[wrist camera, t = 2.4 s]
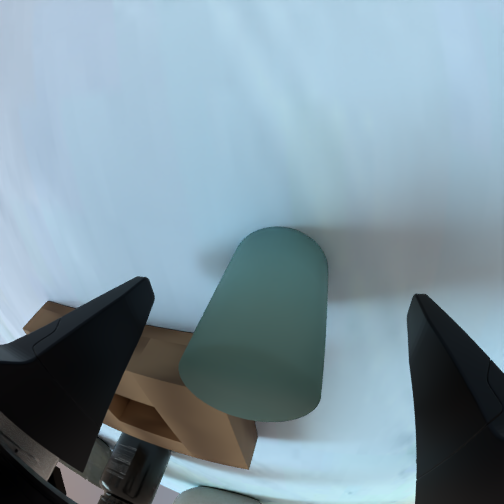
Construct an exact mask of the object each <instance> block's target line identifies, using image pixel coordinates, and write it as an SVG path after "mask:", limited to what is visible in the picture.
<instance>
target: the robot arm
mask: <svg viewBox="0 0 504 504" xmlns="http://www.w3.org/2000/svg"><path fill="white" fill-rule="evenodd" d="M154 299H155V296H154V292H153V290H152V287H151V284H150V281H149V279H148V278H147V277H140V276H138V277H135V278H133V279H131V280H129V281H127V282H126V283H124V284H122V285H120V286H118V287H116V288H114V289H112V290H110V291H108V292H106V293H105V294H103V295H101V296H99V297H97V298H95V299H93V300H91V301H90V302H88V303H86V304H84V305H82V306H80V307H78V308H77V309H75V310H73V311H71V312H69V313H67V314H66V315H64V316H62V317H60V318H58V319H56V320H55V321H53V322H51V323H49V324H47V325H45V326H43V327H41V328H39V329H37V330H35V331H33V332H31V333H29V334H27V335H25V336H23V337H21V338H19V339H17V340H15V341H13V342H10V343H8V344H3V345H0V504H77V503H76V502H74V501H73V500H72V499H70V498H68V497H67V496H66V490H65V487H64V483H63V479H62V475H61V471H60V468H58V467H57V466H56V464H57V462H58V461H59V459H61V460H62V461H64V462H65V463H67V464H68V465H70V466H72V467H73V468H75V469H76V470H78V471H80V472H81V473H83V472H84V470H85V468H86V465H87V462H88V459H89V457H90V454H91V451H92V449H93V446H94V444H95V441H96V438H97V436H98V433H99V431H100V427H101V425H102V423H103V421H104V418H105V416H106V413H107V411H108V409H109V406H110V404H111V401H112V399H113V397H114V394H115V392H116V390H117V388H118V385H119V383H120V381H121V379H122V376H123V374H124V372H125V370H126V367H127V365H128V363H129V361H130V359H131V357H132V354H133V352H134V350H135V348H136V346H137V344H138V342H139V340H140V337H141V335H142V333H143V330H144V327H145V325H146V322H147V319H148V316H149V314H150V311H151V308H152V306H153V303H154ZM407 330H408V349H409V365H410V373H411V381H412V390H413V400H414V411H415V426H416V452H417V459H416V463H417V474H416V479H417V480H416V497H415V504H504V373H503V372H502V371H501V370H500V369H499V368H498V367H497V366H496V364H495V363H494V362H493V361H492V360H490V358H489V357H488V356H487V355H486V353H485V352H484V351H483V350H482V349H481V348H480V347H479V346H478V345H477V344H476V343H475V342H474V341H473V340H472V339H471V338H470V337H469V335H468V334H467V333H466V332H465V331H464V330H463V329H462V328H461V327H460V326H459V325H458V324H457V323H456V322H455V321H454V320H453V319H452V318H451V317H450V316H449V315H448V314H447V313H446V312H445V311H443V310H442V309H441V308H440V307H439V306H438V305H437V304H436V303H435V302H434V301H433V300H432V299H431V298H430V297H429V296H428V295H426V294H415V295H414V296H413V298H412V301H411V304H410V307H409V310H408V314H407Z"/></svg>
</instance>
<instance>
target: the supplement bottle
mask: <svg viewBox="0 0 504 504" xmlns="http://www.w3.org/2000/svg"><path fill="white" fill-rule="evenodd" d="M170 456H171V452H170V450H169V449H166V448H163V447H160V446H157V445H154V444H152V443H149V442H146V441H144V440H141V439H138V438H136V437H133V436H131V435H128V434H126V433H124V432H122V434H121V436H120V437H119V439H118V441H117V443H116V445H115V448H114V450H113V452H112V454H111V456H110V458H109V460H108V462H107V464H106V466H105V468H104V470H103V473H102V475H101V477H100V479H99V482H100V486H101V487H102V489H103V490H104V492H105V493H104V495H101V496H100V500H99V502H98V504H152V501H153V499H154V497H155V494H156V492H157V489H158V487H159V484H160V482H161V479H162V477H163V474H164V472H165V469H166V467H167V464H168V462H169V459H170Z"/></svg>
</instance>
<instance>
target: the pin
mask: <svg viewBox="0 0 504 504" xmlns="http://www.w3.org/2000/svg"><path fill="white" fill-rule="evenodd" d="M327 293H328V265H327V260H326V257H325V255H324V253H323V251H322V249H321V248H320V247H319V245H318V244H317V243H316V242H315V241H314V240H312V239H311V238H310V237H308V236H307V235H305V234H304V233H301V232H299V231H297V230H294V229H290V228H286V227H268V228H263V229H260V230H257V231H255V232H253V233H251V234H250V235H248V236H247V237H246V238H245V239H244V240H243V241H242V242H241V243H240V245H239V246H238V248H237V250H236V252H235V254H234V255H233V257H232V259H231V261H230V263H229V265H228V267H227V269H226V271H225V273H224V275H223V277H222V279H221V281H220V283H219V284H218V286H217V288H216V290H215V292H214V294H213V296H212V298H211V300H210V302H209V304H208V306H207V308H206V310H205V312H204V314H203V316H202V318H201V320H200V322H199V324H198V326H197V328H196V330H195V332H194V334H193V336H192V338H191V340H190V342H189V344H188V345H187V347H186V349H185V351H184V353H183V355H182V357H181V359H180V362H179V368H178V369H179V374H180V377H181V379H182V381H183V383H184V384H185V386H186V387H187V388H188V389H189V390H190V391H191V392H192V393H193V394H194V395H195V396H196V397H197V398H199V399H200V400H202V401H203V402H204V403H206V404H208V405H209V406H211V407H213V408H215V409H217V410H219V411H222V412H224V413H227V414H229V415H232V416H235V417H239V418H243V419H247V420H253V421H261V422H282V421H289V420H294V419H297V418H300V417H303V416H305V415H307V414H309V413H310V412H312V411H313V410H314V409H315V408H316V407H317V405H318V404H319V402H320V399H321V389H322V379H323V367H324V353H325V338H326V319H327Z"/></svg>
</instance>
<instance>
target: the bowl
mask: <svg viewBox="0 0 504 504" xmlns="http://www.w3.org/2000/svg"><path fill="white" fill-rule="evenodd" d="M111 454H112V451H111V449H110V448H109V447H108V446H107V445H106V444H105V443H104V442H103V441H102V440H100V439H99V438H96V441H95V444H94V446H93V449H92V451H91V454H90V457H89V459H88V462H87V465H86V468H85V470H84V472H83V473H81V472H80V471H78V470H76V469H75V468H73V467H72V466H70V465H68V464H67V463H65V462H64V461H62V460H61V459H59V462H61V463H62V464H64V465H65V466H66V467H68V468H69V469H71V470H73V471H74V472H76V473H77V474H79V475H80V476H82V477H83V478H85V479H88V481H89V482H91V483H93V484H94V485H96V486H98V487H99V488H101V489H102V487H101V486H100V482H99V479H100V477H101V475H102V473H103V470H104V468H105V466H106V464H107V462H108V460H109V458H110V456H111Z"/></svg>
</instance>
